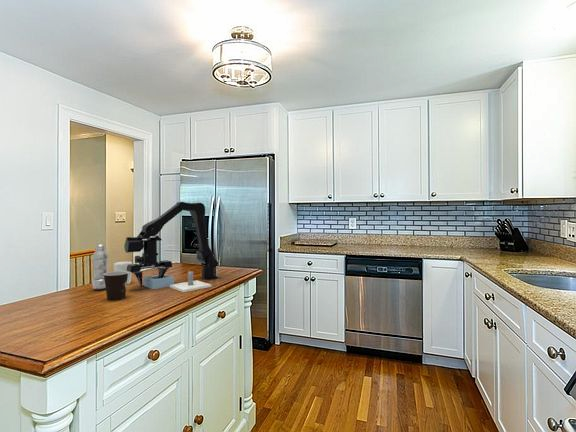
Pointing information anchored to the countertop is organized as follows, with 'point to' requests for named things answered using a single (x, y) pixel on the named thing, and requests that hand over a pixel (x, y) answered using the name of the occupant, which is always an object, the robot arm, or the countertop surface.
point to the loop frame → (158, 281)
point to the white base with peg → (190, 284)
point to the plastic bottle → (100, 266)
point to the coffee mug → (116, 285)
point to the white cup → (123, 269)
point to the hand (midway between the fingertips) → (150, 284)
